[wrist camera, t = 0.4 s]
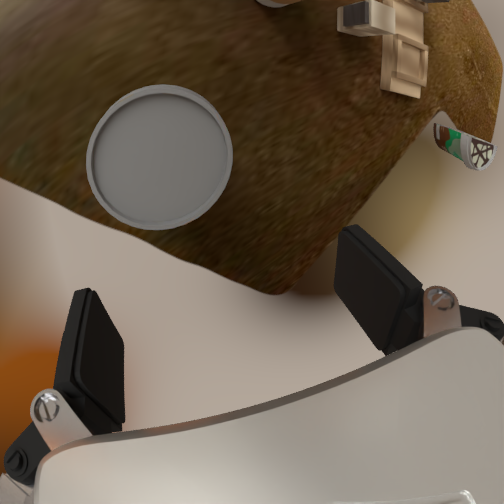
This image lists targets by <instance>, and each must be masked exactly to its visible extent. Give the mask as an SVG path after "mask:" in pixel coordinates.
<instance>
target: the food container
mask: <svg viewBox="0 0 504 504" xmlns="http://www.w3.org/2000/svg"><path fill="white" fill-rule="evenodd" d="M434 138H435V141H436V143H437V145H438V147H440V148H441V149H442V150H444V151H446V152H448V153H450V154H452V155H453V156H455V157H457V158H459V159H460V160H462V161H463V162H464V164H465V165H466V166H467V167H468V168H470V169H474V170H484V169H486V168H487V167H488V166H489V165H490V164H491V162H492V160H493V158H494V156H495V153H496V150H497V146H495V145H493V144H491V143H489V142H486V141H484V140H482V139H479V138H477V137H474V136H472V135H469V134H467V133H464V132H462V131H459V130H456V129H452V128H449V127H446V126H442V125H439V124H436V123H434Z"/></svg>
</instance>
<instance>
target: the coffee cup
mask: <svg viewBox="0 0 504 504" xmlns="http://www.w3.org/2000/svg"><path fill="white" fill-rule="evenodd" d="M257 1H258V2H260V3H261V4H263V5H266V6H269V7H282V6H286V5H288V4H292V3H296V2H299V1H302V0H257Z"/></svg>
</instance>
